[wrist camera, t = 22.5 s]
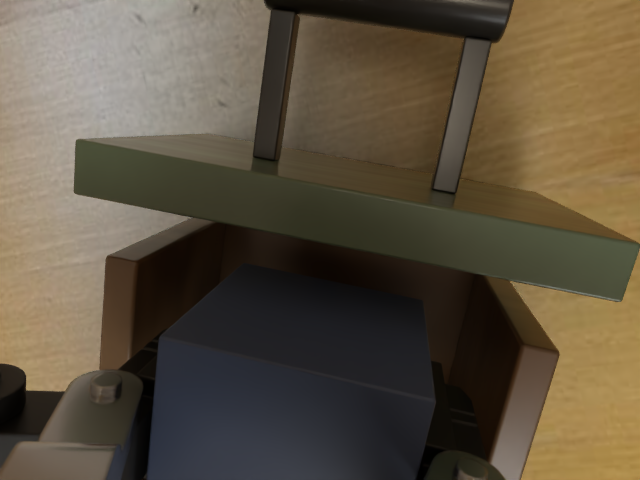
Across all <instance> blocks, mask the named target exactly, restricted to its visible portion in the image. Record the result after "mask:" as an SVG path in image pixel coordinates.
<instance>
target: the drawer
mask: <svg viewBox="0 0 640 480" xmlns="http://www.w3.org/2000/svg"><path fill="white" fill-rule="evenodd" d="M264 3H265V6H266V8H268V9H269V10H271V15H270V23H269V30H268V38H267V46H266V54H265V62H264V70H263V77H262V85H261V93H260V101H259V109H258V117H257V124H256V132H255V140H254V142H251V141H246V140H240V139H234V138H229V137H223V136H218V135H212V134H184V135H161V136H137V137H113V138H89V139H77V140H76V147H75V173H74V193H75V194H77V195H82V196H87V197H93V198H98V199H103V200H108V201H113V202H118V203H123V204H128V205H133V206H138V207H143V208H148V209H153V210H158V211H163V212H168V213H173V214H178V215H183V216H188V217H193V218H191V219H189V220H187V221H184V222H182V223H180V224H178V225H175V226H173V227H171V228H169V229H166V230H164V231H162V232H160V233H158V234H155V235H153V236H151V237H149V238H146V239H144V240H142V241H140V242H137V243H135V244H133V245H131V246H128V247H126V248H124V249H122V250H119V251H117V252H115V253H113V254H110V255H108V256H107V258H106V265H105V282H104V300H103V317H102V334H101V352H100V369H99V370H104V369H116V370H118V369H119V368H120V367H121V366H122V365H123V364H125V363H126V362H127V361H128V360H129V359H130V358H132V357H133V356H134V355H135V354H136V353H137V352H138V351H140V350H141V349H143V348H144V346H145V345H146V344H148V343H149V342H150V341H152V339H153V338H155V337H156V336H157V335H158V334H159V333H160V332H161V331H163V330H165V329H167V328H170V327H171V326H172V325H173V324H174V323H175V322H176V321H178V320H179V319H180V318H181V317H182V316H183V315H184V314H186V313H187V312H188V311H189V310H190V309H191V308H192V307H194V306H195V305H196V304H197V303H198V302H199V301H200V300H202V299H203V298H204V297H205V296H206V295H207V294H208V293H210V292H211V291H212V290H213V289H214V288H215V287H216V286H218V285H219V284H220V283H221V282H222V281H223V280H224V279H226V278H227V277H228V276H229V275H230V274H231V273H232V272H234V271H235V270H236V269H237V268H238V267H239V266H240V265H242V264H243V263H247V264H252V265H257V266H262V267H266V268H271V269H276V270H281V271H286V272H290V273H295V274H300V275H305V276H310V277H314V278H319V279H324V280H329V281H334V282H338V283H343V284H348V285H353V286H358V287H362V288H367V289H372V290H377V291H382V292H386V293H391V294H396V295H401V296H406V297H410V298H415V299H420V300H423V303H424V311H425V319H426V327H427V335H428V343H429V350H430V358H431V361H436V362H440V363H441V364H442V369H443V375H444V380H445V384H449V385H453V386H457V387H460V388H461V389H462V390H463V391H464V392H465V394H466V395H467V396H468V397H469V398H470V399H471V400H472V404H473V408H474V412H475V417H476V419H477V423H478V428H479V431H480V435H481V439H482V442H483V446H484V450H485V454H486V458H487V462H489V463H490V464H491V465H493V466H494V467H495V468H496V469H498V470H499V471H500V473H501V474H502V475H503V476H504V478H505V479H506V480H521V477H522V474H523V470H524V467H525V464H526V461H527V458H528V454H529V451H530V448H531V445H532V442H533V438H534V435H535V432H536V429H537V426H538V422H539V419H540V416H541V413H542V410H543V406H544V403H545V400H546V397H547V394H548V390H549V387H550V384H551V381H552V378H553V374H554V371H555V368H556V365H557V362H558V358H559V355H560V354H559V351H558V349H557V348H556V347H555V345H554V344H553V342H552V341H551V339H550V338H549V337H548V335H547V334H546V332H545V331H544V330H543V328H542V327H541V325H540V324H539V322H538V321H537V320H536V318H535V317H534V315H533V314H532V312H531V311H530V310H529V308H528V307H527V305H526V304H525V303H524V301H523V300H522V298H521V297H520V295H519V294H518V293H517V291H516V290H515V288H514V287H513V285H512V284H511V283H510V281H514V282H519V283H524V284H529V285H534V286H539V287H544V288H549V289H554V290H559V291H565V292H570V293H575V294H580V295H585V296H590V297H595V298H600V299H605V300H610V301H615V302H621V301H622V299H623V296H624V293H625V290H626V287H627V284H628V282H629V279H630V276H631V273H632V270H633V267H634V264H635V261H636V258H637V255H638V252H639V249H640V244H639V243H638V242H636V241H634V240H632V239H630V238H628V237H626V236H623V235H621V234H619V233H617V232H615V231H613V230H611V229H609V228H607V227H605V226H603V225H601V224H599V223H597V222H595V221H593V220H591V219H589V218H587V217H585V216H583V215H581V214H579V213H577V212H575V211H573V210H571V209H569V208H567V207H565V206H563V205H561V204H559V203H556V202H554V201H552V200H550V199H548V198H546V197H544V196H542V195H540V194H538V193H536V192H532V191H526V190H520V189H515V188H509V187H503V186H498V185H492V184H487V183H481V182H475V181H470V180H464V179H460V176H461V172H462V168H463V163H464V159H465V155H466V151H467V146H468V142H469V138H470V134H471V129H472V125H473V121H474V116H475V112H476V108H477V104H478V99H479V95H480V91H481V87H482V82H483V78H484V74H485V70H486V65H487V61H488V57H489V52H490V48H491V44H492V43H497V42H499V41H500V39H501V38H502V36H503V34H504V32H505V29H506V27H507V24H508V21H509V17H510V14H511V10H512V7H513V3H514V0H264ZM297 14H298V15H305V16H312V17H319V18H326V19H332V20H339V21H346V22H353V23H360V24H367V25H373V26H380V27H387V28H394V29H401V30H407V31H414V32H421V33H428V34H435V35H442V36H448V37H455V38H462V39H464V40H463V42H462V44H461V49H460V54H459V58H458V63H457V67H456V72H455V76H454V81H453V85H452V90H451V94H450V99H449V104H448V108H447V113H446V117H445V122H444V126H443V131H442V135H441V140H440V144H439V149H438V154H437V158H436V163H435V167H434V172H433V174H431V173H425V172H419V171H414V170H408V169H403V168H397V167H391V166H386V165H380V164H375V163H369V162H363V161H358V160H352V159H347V158H341V157H335V156H330V155H324V154H319V153H313V152H307V151H302V150H296V149H290V148H285V147H282V141H283V134H284V127H285V120H286V113H287V106H288V99H289V92H290V84H291V77H292V70H293V63H294V56H295V49H296V42H297V35H298V28H299V21H300V18H299V16H298V15H297ZM142 480H146V479H145V478H143V479H142Z"/></svg>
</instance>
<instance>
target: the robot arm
mask: <svg viewBox="0 0 640 480" xmlns="http://www.w3.org/2000/svg"><path fill="white" fill-rule="evenodd" d="M167 329H168V328H167ZM167 329H165V330H163V331H161V332H160V333H159V334H158V335H157V336H156V337H155V338H153V339H152V341H150V342H149V343H148V344H146V345H145V346H144V348H143V349H141V350H140V351H138V352H137V353H136V354H135V355H134V356H133V357H132V358H130V359H129V360H128V361H127V362H126V363H125V364H123V365H122V366H121V367H120V368H119V369H118V370H116V369H104V370H96V371H92V372H88V373H86V374H83V375H81V376H79V377H77V378H76V379H74V380H73V381H72V382H71V383H70V384H69V386H68V387H67V389H66V391H65V392H54V391H26V375H25V372H24V371H23V370H21V369H20V368H18V367H16V366H13V365H9V364H0V480H142V479H143V478H145V479H146V476H147V465H148V454H149V442H150V431H151V420H152V409H153V397H154V386H155V375H156V364H157V352H158V341H159V337H160V335H162V334H163V333H164V332H165V331H166V330H167ZM431 366H432V374H433V382H434V390H435V398H436V404H435V408H434V412H433V416H432V420H431V424H430V428H429V432H428V436H427V440H426V444H425V448H424V452H423V456H422V460H421V464H420V468H419V472H418V476H417V480H506V479H505V478H504V476H503V475H502V474H501V473H500V471H499V470H498V469H496V468H495V467H494V466H493V465H491V464H490V463H489V462H487V458H486V454H485V450H484V446H483V442H482V439H481V435H480V431H479V428H478V423H477V419H476V417H475V412H474V408H473V404H472V400H471V399H470V398H469V397H468V396H467V395H466V394H465V392H464V391H463V390H462V389H461V388H460V387H457V386H453V385H449V384H445V380H444V375H443V369H442V364H441V363H440V362H436V361H431Z"/></svg>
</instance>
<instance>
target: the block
mask: <svg viewBox="0 0 640 480" xmlns="http://www.w3.org/2000/svg"><path fill="white" fill-rule="evenodd" d="M435 404H436V398H435V390H434V382H433V374H432V366H431V358H430V350H429V343H428V335H427V327H426V319H425V311H424V303H423V300H420V299H415V298H410V297H406V296H401V295H396V294H391V293H386V292H382V291H377V290H372V289H367V288H362V287H358V286H353V285H348V284H343V283H338V282H334V281H329V280H324V279H319V278H314V277H310V276H305V275H300V274H295V273H290V272H286V271H281V270H276V269H271V268H266V267H262V266H257V265H252V264H247V263H243V264H242V265H240V266H239V267H238V268H237V269H236V270H235V271H234V272H232V273H231V274H230V275H229V276H228V277H227V278H226V279H224V280H223V281H222V282H221V283H220V284H219V285H218V286H216V287H215V288H214V289H213V290H212V291H211V292H210V293H208V294H207V295H206V296H205V297H204V298H203V299H202V300H200V301H199V302H198V303H197V304H196V305H195V306H194V307H192V308H191V309H190V310H189V311H188V312H187V313H186V314H184V315H183V316H182V317H181V318H180V319H179V320H178V321H176V322H175V323H174V324H173V325H172V326H171V327H170V328H168V329H167V330H166V331H165V332H164V333H163V334H162V335H160V337H159V341H158V352H157V364H156V375H155V386H154V397H153V409H152V420H151V431H150V442H149V454H148V465H147V476H146V480H417V476H418V472H419V468H420V464H421V460H422V456H423V452H424V448H425V444H426V440H427V436H428V432H429V428H430V424H431V420H432V416H433V412H434V408H435Z"/></svg>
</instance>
